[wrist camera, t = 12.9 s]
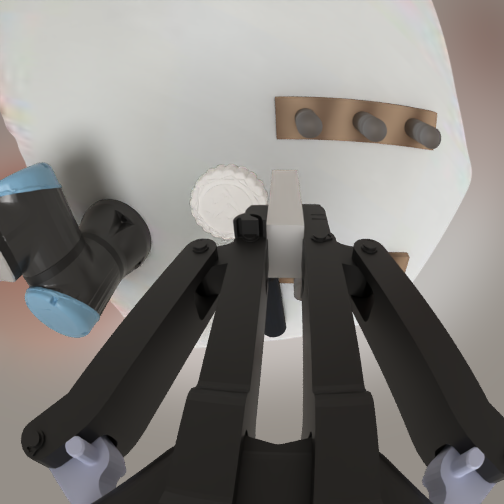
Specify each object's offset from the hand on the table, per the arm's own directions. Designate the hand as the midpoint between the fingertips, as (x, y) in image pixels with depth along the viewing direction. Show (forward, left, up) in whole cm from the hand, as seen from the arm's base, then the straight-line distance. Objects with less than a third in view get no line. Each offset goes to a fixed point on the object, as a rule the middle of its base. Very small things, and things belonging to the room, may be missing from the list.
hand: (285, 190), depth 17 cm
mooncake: (-9, -12, -25) cm, 29 cm away
